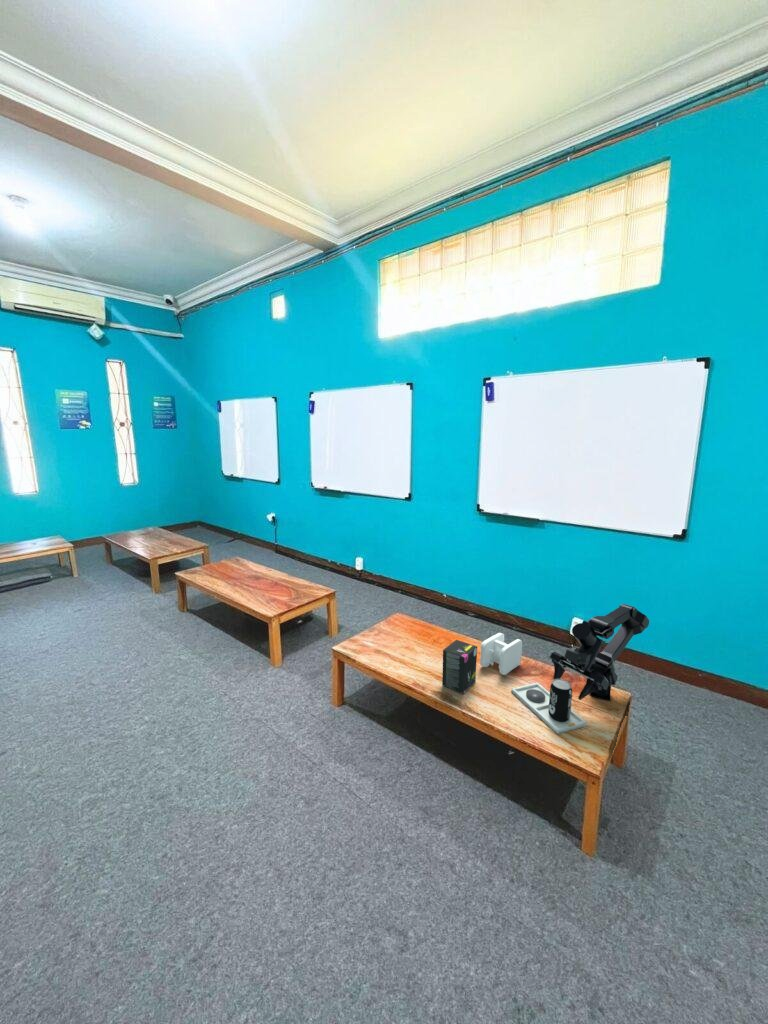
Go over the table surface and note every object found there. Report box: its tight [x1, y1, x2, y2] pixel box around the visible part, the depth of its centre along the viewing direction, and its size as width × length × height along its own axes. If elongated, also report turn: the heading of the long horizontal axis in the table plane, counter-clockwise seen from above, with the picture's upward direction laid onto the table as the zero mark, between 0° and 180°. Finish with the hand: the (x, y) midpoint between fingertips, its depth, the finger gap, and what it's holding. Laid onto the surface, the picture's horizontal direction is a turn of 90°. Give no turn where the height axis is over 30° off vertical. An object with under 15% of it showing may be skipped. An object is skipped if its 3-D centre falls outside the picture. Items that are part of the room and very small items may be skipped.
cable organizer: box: [479, 632, 523, 676], centre depth 163 cm, size 15×11×12 cm
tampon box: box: [441, 639, 478, 695], centre depth 151 cm, size 11×9×15 cm
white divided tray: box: [511, 682, 587, 735], centre depth 138 cm, size 12×23×2 cm, turn 19°
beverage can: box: [549, 678, 573, 722], centre depth 132 cm, size 7×7×12 cm
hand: (566, 692), depth 133 cm, fingers open, 9 cm apart
